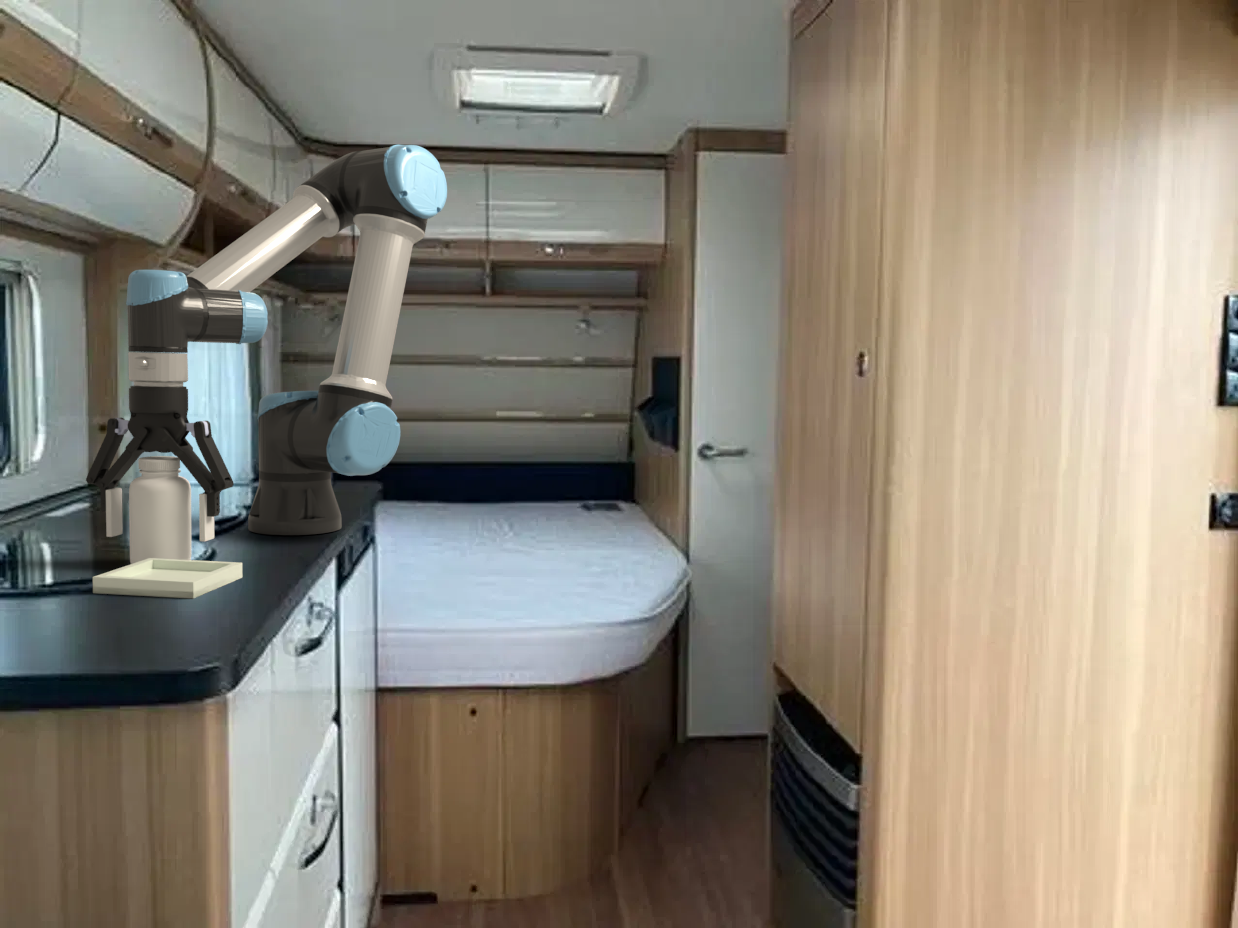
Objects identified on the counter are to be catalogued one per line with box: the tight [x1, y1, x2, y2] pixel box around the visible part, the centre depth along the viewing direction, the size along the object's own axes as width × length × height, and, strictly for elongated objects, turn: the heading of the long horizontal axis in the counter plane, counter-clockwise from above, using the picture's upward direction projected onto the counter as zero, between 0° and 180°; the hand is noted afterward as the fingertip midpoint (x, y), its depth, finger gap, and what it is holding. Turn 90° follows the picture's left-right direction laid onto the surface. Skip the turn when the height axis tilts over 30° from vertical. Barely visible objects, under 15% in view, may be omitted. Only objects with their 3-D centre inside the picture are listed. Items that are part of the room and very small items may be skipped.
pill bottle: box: [128, 455, 192, 564], centre depth 153 cm, size 8×8×15 cm
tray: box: [92, 558, 243, 599], centre depth 141 cm, size 13×13×2 cm
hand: (160, 537), depth 154 cm, fingers open, 13 cm apart
